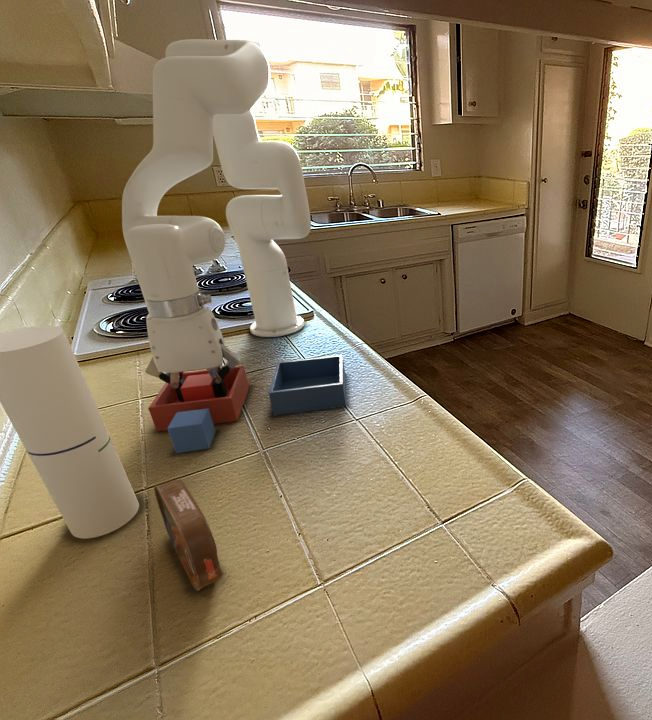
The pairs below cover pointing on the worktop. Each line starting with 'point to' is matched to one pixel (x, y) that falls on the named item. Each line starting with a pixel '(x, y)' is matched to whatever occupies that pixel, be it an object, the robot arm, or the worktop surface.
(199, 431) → the blue block
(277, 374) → the blue bin
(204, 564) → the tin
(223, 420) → the red bin
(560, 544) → the worktop surface
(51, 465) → the cylindrical container
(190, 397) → the red block
